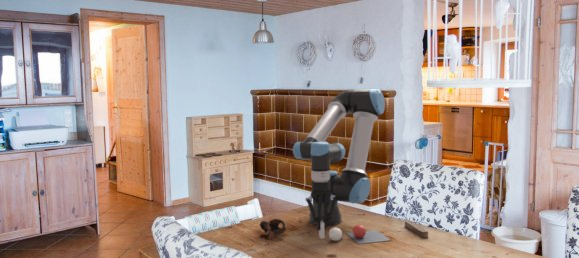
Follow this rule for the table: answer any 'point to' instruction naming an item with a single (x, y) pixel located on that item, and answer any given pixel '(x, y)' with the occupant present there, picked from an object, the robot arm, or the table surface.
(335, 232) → the cue ball
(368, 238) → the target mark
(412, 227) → the strip
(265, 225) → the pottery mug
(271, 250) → the table surface
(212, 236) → the table surface
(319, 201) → the robot arm
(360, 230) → the red ball
